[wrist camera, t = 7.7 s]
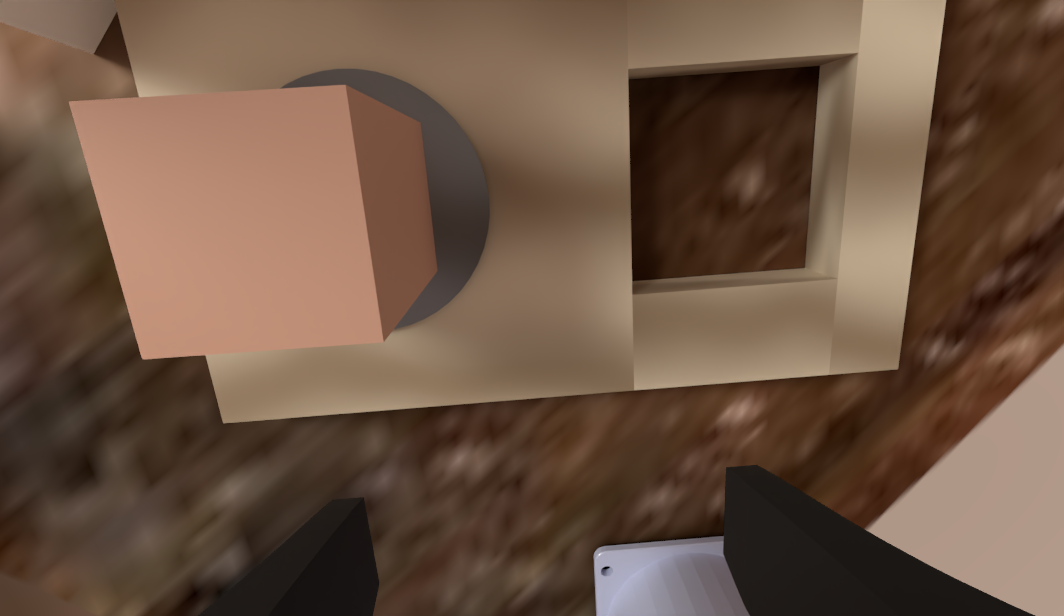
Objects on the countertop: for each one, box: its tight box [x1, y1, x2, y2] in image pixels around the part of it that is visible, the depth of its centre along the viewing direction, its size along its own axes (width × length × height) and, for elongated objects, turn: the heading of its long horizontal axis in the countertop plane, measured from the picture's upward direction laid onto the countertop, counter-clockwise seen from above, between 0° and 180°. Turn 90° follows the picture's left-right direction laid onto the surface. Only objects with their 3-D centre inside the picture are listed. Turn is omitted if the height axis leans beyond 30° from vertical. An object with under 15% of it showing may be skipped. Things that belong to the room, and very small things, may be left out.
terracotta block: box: [69, 85, 438, 359], centre depth 12 cm, size 4×4×7 cm
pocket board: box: [114, 0, 946, 423], centre depth 17 cm, size 14×24×2 cm, turn 94°
